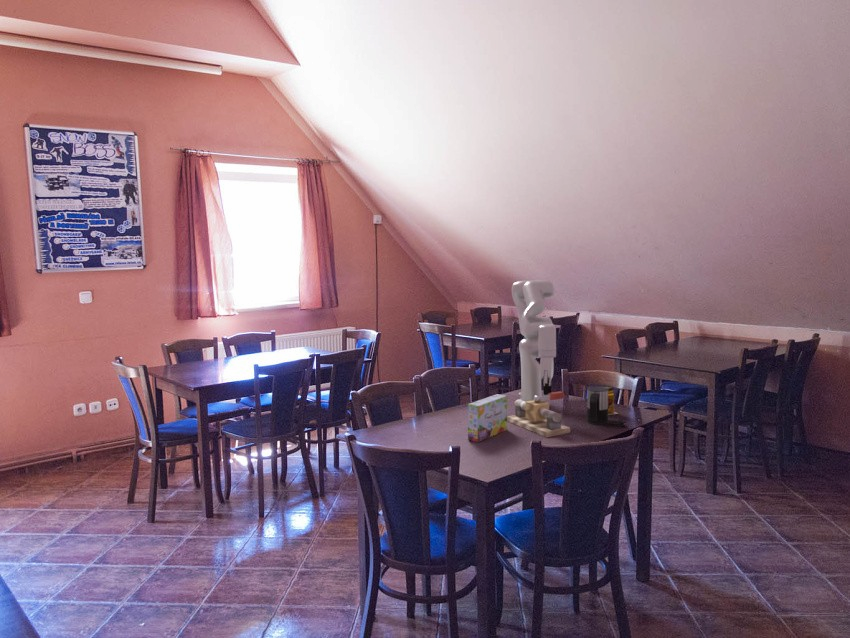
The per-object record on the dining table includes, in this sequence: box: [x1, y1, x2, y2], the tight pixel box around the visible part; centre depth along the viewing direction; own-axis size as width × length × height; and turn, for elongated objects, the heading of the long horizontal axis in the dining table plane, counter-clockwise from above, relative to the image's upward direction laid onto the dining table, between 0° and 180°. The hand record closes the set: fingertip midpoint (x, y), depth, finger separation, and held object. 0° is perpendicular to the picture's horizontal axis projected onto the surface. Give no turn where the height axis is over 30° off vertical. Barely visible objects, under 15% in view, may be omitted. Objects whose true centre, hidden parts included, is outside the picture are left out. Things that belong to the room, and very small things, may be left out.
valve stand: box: [507, 398, 571, 438], centre depth 270 cm, size 28×12×10 cm, turn 27°
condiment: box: [602, 385, 619, 416], centre depth 288 cm, size 7×8×12 cm
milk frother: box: [586, 385, 627, 426], centre depth 271 cm, size 14×16×15 cm
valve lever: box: [534, 391, 564, 402], centre depth 272 cm, size 14×3×3 cm, turn 117°
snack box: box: [467, 393, 508, 443], centre depth 260 cm, size 21×6×15 cm, turn 140°
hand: (547, 394), depth 279 cm, fingers closed
